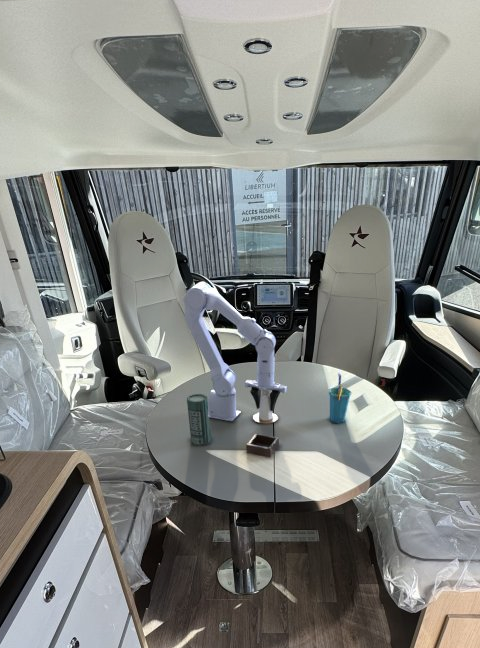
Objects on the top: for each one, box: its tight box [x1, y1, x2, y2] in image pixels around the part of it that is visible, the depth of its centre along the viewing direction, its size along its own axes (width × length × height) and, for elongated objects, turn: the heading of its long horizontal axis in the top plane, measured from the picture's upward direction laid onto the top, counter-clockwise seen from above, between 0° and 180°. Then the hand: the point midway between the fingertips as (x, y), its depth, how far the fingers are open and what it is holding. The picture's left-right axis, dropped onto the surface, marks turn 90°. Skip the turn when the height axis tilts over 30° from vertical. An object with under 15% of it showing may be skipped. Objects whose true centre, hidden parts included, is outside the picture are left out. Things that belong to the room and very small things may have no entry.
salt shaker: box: [258, 390, 273, 420], centre depth 155 cm, size 5×5×11 cm
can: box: [186, 393, 212, 446], centre depth 140 cm, size 6×6×15 cm
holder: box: [245, 433, 280, 458], centre depth 139 cm, size 8×8×3 cm
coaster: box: [252, 412, 279, 425], centre depth 158 cm, size 9×9×1 cm
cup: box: [328, 372, 352, 424], centre depth 154 cm, size 14×8×15 cm, turn 179°
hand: (265, 408), depth 156 cm, fingers open, 5 cm apart
